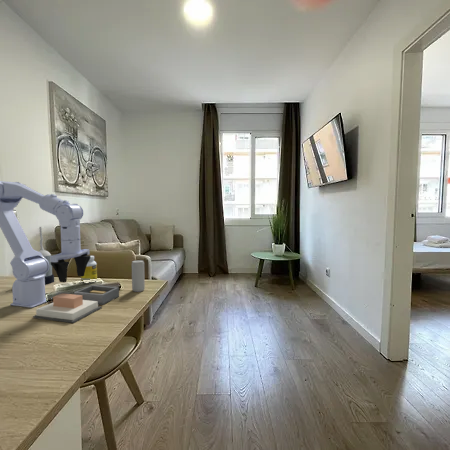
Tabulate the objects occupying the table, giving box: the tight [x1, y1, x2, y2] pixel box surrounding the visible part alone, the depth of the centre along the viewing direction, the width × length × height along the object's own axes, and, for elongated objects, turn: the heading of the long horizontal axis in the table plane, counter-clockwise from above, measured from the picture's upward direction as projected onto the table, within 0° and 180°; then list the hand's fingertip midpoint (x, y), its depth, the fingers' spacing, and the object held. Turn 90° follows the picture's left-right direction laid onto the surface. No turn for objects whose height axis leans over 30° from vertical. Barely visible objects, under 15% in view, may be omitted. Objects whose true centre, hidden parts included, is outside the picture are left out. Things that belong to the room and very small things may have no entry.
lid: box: [35, 293, 99, 320], centre depth 86 cm, size 14×11×5 cm
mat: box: [32, 305, 103, 324], centre depth 87 cm, size 15×12×1 cm
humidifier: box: [37, 226, 55, 286], centre depth 119 cm, size 8×8×25 cm
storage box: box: [73, 284, 120, 306], centre depth 99 cm, size 12×9×4 cm
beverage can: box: [131, 259, 146, 293], centre depth 109 cm, size 5×5×12 cm
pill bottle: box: [80, 255, 98, 282], centre depth 121 cm, size 6×6×12 cm
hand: (72, 278), depth 92 cm, fingers open, 7 cm apart
